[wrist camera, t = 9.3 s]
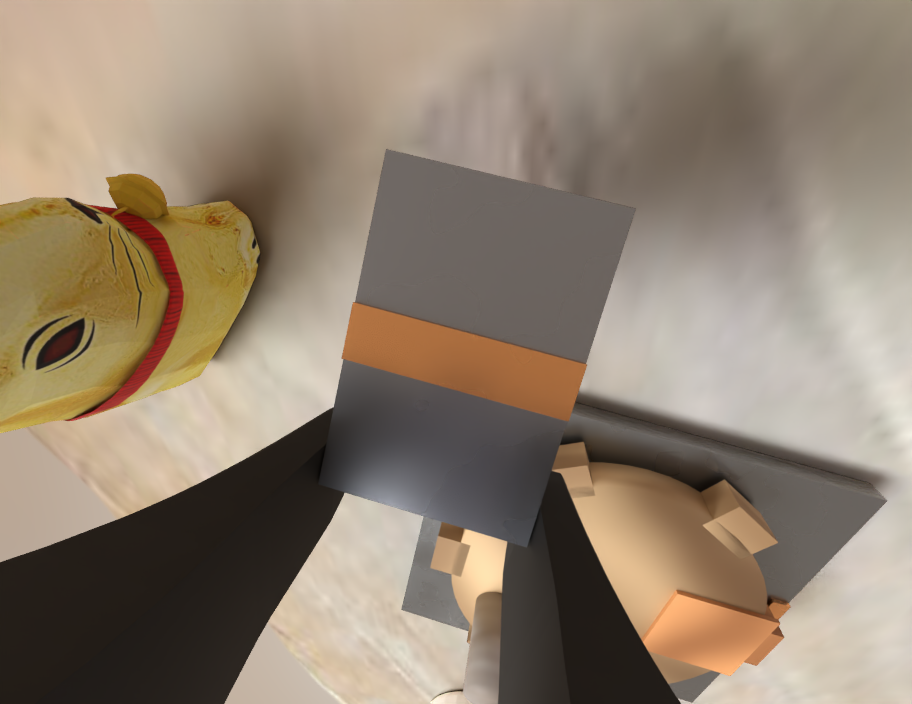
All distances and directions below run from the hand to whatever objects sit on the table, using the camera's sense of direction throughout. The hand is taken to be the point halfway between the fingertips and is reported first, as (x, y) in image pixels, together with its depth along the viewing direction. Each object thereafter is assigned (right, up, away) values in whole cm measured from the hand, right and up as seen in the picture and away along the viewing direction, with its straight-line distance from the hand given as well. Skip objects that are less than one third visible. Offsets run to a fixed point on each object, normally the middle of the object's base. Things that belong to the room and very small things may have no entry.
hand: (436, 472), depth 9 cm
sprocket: (+7, -8, +11) cm, 16 cm away
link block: (+1, +3, +1) cm, 4 cm away
